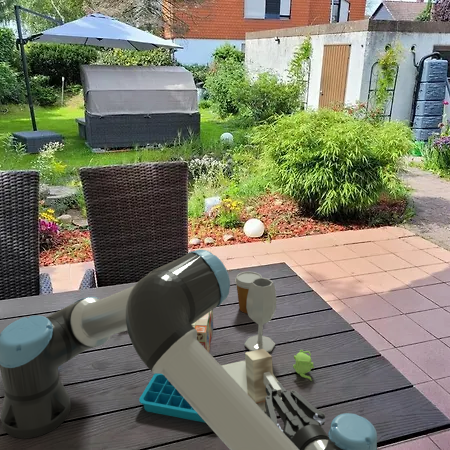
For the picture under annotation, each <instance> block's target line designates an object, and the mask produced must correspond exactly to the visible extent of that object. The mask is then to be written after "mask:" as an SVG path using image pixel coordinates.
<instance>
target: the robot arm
mask: <svg viewBox="0 0 450 450" xmlns="http://www.w3.org/2000/svg"><path fill="white" fill-rule="evenodd" d="M230 288H231V280H230V276H229V273H228V270H227V268H226V266H225V265H224V263H223V262H222V260H221V259H220V258H219V257H218V256H217V255H214V254H213V253H212V252H211V251H209V250H206V249H197V250H196V249H195V250H194V251H189V252H187V254H185V255H184V256H181V257H180V258H178V259H175V260H173V261H171V262H169V263H166V264H164V265H162V266H160V267H156V268H154V269H153V270H151V271H150V272H148V274H147V275H145V276H144V277H141V278H140V280H138V281H137V282H136V283H135V285H133V286H130V287H128V288H125V289H122V290H121V291H119V292H115V293H112V294H110V295H107V296H106V297H103V298H101V299H100V298H99V297H96V296H87V297H86V296H85V297H83V298H79V299H78V300H76V301H75V302H74V303H73V302H72V304H70V305H68V306H66V307H63V308H62V309H59V310H58V311H56V312H54V313H52V314H50V315H48V316H43V315H30V316H29V317H26V316H24V317H21V318H20V319H16V320H14V321H13V322H11V323H10V324H8V325H7V326H5V327H4V329H3V330H1V332H0V375H1V380H2V385H3V386H2V387H3V391H4V397H3V398H4V399H3V402H2V406H1V412H0V421H1V426H2V429H3V430H4V431H3V432H5V433H6V434H7V435H9V436H11V437H13V438H17V439H30V438H32V439H33V438H37V437H41V436H43V435H46V434H47V433H50V432H52V431H54V430H55V429H56V428H58V427H60V426H61V424H63V423H64V421H66V419H67V418H68V416H69V415H70V412H71V410H72V409H71V408H72V407H71V406H72V403H71V398H70V394H69V393H68V391H67V390H66V388H65V386H64V384H63V383H62V381H61V380H60V375H59V367H60V366H62V365H64V364H65V363H67V362H69V361H70V360H72V359H73V358H75V357H77V356H78V355H80V354H82V353H83V352H85V351H87V350H90V349H94V348H96V347H100V346H102V345H104V344H106V343H107V342H108V341H109V340H110V338H112V336H113V335H117V334H120V333H124V332H126V331H127V333H128V336H129V340H130V342H131V344H132V346H133V348H134V351H135V352H136V353H137V356H138V357H139V358H140V360H141V361H142V362H143V364H144V365H145V366H146V367H147V369H149V371H150V372H151V373H152V374H163V375H164V376H165V377H166V378H167V379H168V381H169V382H170V383H171V384H172V385H173V386H174V387H175V388H176V390H177V391H178V392H179V393H180V394H181V395H182V396H183V397H184V399H185V400H186V401H187V402H188V403H189V404H190V405H191V406H192V408H193V409H194V410H195V411H196V412H197V413H198V414H199V415H200V416H201V418H202V419H203V420H204V421H205V422H206V424H207V425H208V427H209V428H210V429H211V431H213V433H215V434H216V436H217V437H218V438H219V439H220V440H221V442H222V443H223V444H225V446H226V447H227V448H228V449H229V450H378V446H377V445H378V444H377V443H378V433H377V430H376V428H375V426H374V424H373V423H372V422H371V421H370V420H368V419H367V418H366V417H364V416H361V415H358V414H356V413H351V412H350V413H349V412H346V413H341V414H338V415H336V416H335V417H334V418H333V419H332V421H331V424H330V428H329V430H328V433H327V432H326V431H325V430H324V428H323V427H322V426H324V425H325V422H326V413H325V412H323V411H321V410H319V409H317V408H316V407H315V406H314V405H313V404H311V403H310V402H309V401H308V400H307V399H306V398H305V397H304V396H303V395H301V394H300V393H299V392H298V391H297V390H295V389H291V390H290V391H289V390H287V389H286V388H285V387H284V386H283V384H282V383H281V382H280V381H279V382H276V381H275V379H274V378H273V376H272V375H271V373H270V372H265V373H264V377H263V383H264V384H265V386H266V389H265V391H266V393H267V395H268V396H266V399H265V408H266V412H264V411H263V410H262V409H261V408H260V407H259V406H258V405H257V404H256V403H255V402H254V401H253V399H252V398H251V397H250V396H249V395H248V394H247V393H246V392H245V391H244V390H243V389H242V388H241V387H240V386H239V384H238V383H237V382H236V381H235V380H234V379H233V378H232V377H231V376H230V375H229V374H228V373H227V372H226V371H225V369H224V368H223V367H222V366H221V363H219V362H218V361H217V359H215V358H214V356H213V355H212V354H211V353H210V351H209V352H208V351H207V350H206V349H205V348H204V347H203V346H202V345H201V344H200V343H199V342H198V340H197V330H196V329H195V328H194V327H193V326H192V324H193V323H195V322H196V321H197V320H199V319H200V318H202V317H203V316H204V315H206V314H207V313H209V312H210V311H211V310H213V311H214V309H216V308H219V306H220V305H221V304H222V303H224V301H225V300H226V299H227V298H228V297H229V293H230ZM281 398H282V400H281ZM282 401H283V402H282ZM284 404H285V405H284ZM273 406H274V407H273ZM274 408H275V409H274ZM275 411H276V412H277V414H278V416H279V417H280V419H281V420H282V422H283V429H282V428H281V426H280V423H278V418H277V414H276V412H275ZM205 422H204V423H205Z"/></svg>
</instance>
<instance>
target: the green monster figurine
mask: <svg viewBox="0 0 450 450" xmlns="http://www.w3.org/2000/svg"><path fill="white" fill-rule="evenodd" d="M307 353H308V354H309V355H308V354H307ZM311 356H312V354H311V351H308V350H305V351H304V350H303V349H299V352H298V353H296V355H295V354H294V355H293V359H294V361H295V363H294V364H293V365H292V367H293V369H294V371H295V372H296V373H297V374H298V375H300V377H302V378H305V379H308V380H309V381H311V382H312V377H311V376H310V375H306V374H307V373H309V372H311V370H312V369H315V366H314V362H312V357H311Z"/></svg>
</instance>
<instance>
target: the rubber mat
mask: <svg viewBox="0 0 450 450" xmlns="http://www.w3.org/2000/svg"><path fill="white" fill-rule="evenodd" d="M220 365H221V364H220ZM221 366H222V367H223V368H224V369H225V371H226V372H227V373H228V374H229V375H230V376H231V377H232V378H233V379H234V380H235V381H236V382H237V383H238V384H239V386H240V387H241V388H242V389H243V390H244V391H245V392H246V393H247V377H246V362H245V360H240V361H235V362H231V363H228V364H226V363H225V364H222V365H221ZM273 378H274V379H275V381H276V382H280V381H279V380H278V379H277V377H276V376H275V375H274V373H273ZM247 394H248V393H247ZM281 400H282V398H281ZM282 402H283V401H282ZM257 405H258V406H259V407H260V408H261V409H262V410H263V411H264V412H265V413H267V412H266V408H265V402H261V403H257ZM284 405H285V404H284ZM273 407H274V406H273ZM274 410H275V408H274Z"/></svg>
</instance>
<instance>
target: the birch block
mask: <svg viewBox="0 0 450 450" xmlns="http://www.w3.org/2000/svg"><path fill="white" fill-rule="evenodd" d="M244 358H245V362H246V377H247V393H248V395H249V396H250V397H251V398H252V399H253V401H254V402H255V403H256V404H257V403H261V402H265V399H266V396H268V395H267V393H266V391H265V389H266V386H265V384H264V383H263V377H264V373H265V372H270V373H271V375H272V376H273V374H274V371H273V370H274V369H273V356H272V355H271V354H270V352H266V351H265V350H264V349H260V350H255V351H250V350H249V351H247V352H245V353H244Z"/></svg>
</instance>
